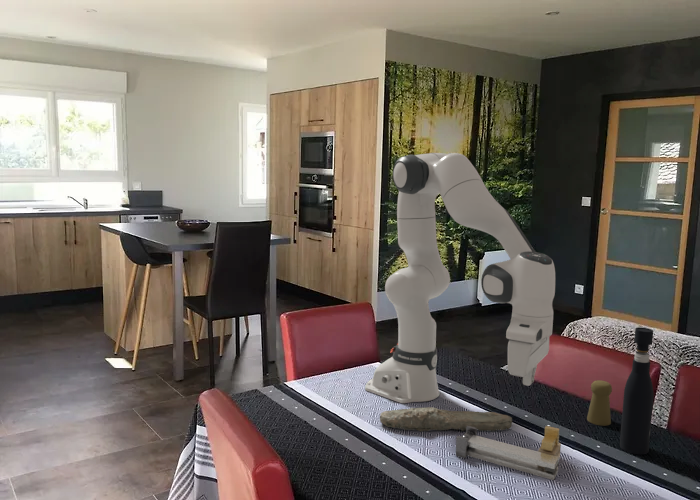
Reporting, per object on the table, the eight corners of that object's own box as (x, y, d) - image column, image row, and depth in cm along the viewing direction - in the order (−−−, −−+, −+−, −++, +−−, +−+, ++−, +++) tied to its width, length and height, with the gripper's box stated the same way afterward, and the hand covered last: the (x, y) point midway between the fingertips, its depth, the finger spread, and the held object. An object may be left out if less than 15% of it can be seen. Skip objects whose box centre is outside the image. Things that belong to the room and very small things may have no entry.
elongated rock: (516, 440, 151) (506, 425, 161) (518, 420, 150) (508, 406, 160) (380, 431, 151) (378, 417, 161) (381, 411, 151) (379, 398, 160)
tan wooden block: (537, 464, 136) (538, 450, 135) (544, 453, 141) (545, 439, 141) (553, 469, 134) (554, 454, 133) (559, 457, 139) (560, 443, 139)
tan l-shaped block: (539, 448, 135) (540, 433, 135) (545, 440, 140) (546, 425, 139) (553, 452, 134) (554, 437, 133) (558, 443, 138) (559, 428, 137)
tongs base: (455, 455, 140) (456, 436, 139) (466, 443, 146) (467, 425, 145) (551, 483, 128) (553, 462, 127) (559, 469, 134) (561, 449, 133)
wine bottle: (614, 442, 147) (624, 326, 143) (638, 441, 148) (649, 325, 143) (628, 455, 141) (639, 333, 136) (654, 454, 141) (665, 333, 137)
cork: (613, 426, 156) (616, 387, 155) (589, 424, 157) (592, 385, 156) (608, 417, 162) (611, 378, 160) (585, 415, 163) (587, 377, 162)
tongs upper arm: (457, 447, 140) (458, 437, 140) (465, 439, 144) (465, 429, 144) (553, 473, 129) (554, 462, 128) (558, 464, 133) (559, 453, 132)
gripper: (531, 313, 143) (527, 367, 145) (503, 333, 126) (500, 394, 128) (557, 317, 140) (554, 372, 142) (533, 338, 123) (529, 401, 125)
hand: (528, 383), depth 135 cm, fingers closed
